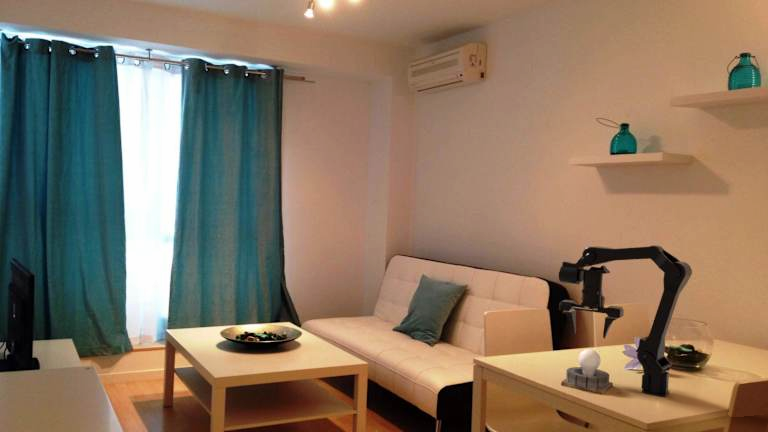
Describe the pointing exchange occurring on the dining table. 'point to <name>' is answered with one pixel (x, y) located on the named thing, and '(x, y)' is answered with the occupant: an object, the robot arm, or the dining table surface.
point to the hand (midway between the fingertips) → (589, 335)
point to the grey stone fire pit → (587, 380)
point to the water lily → (632, 355)
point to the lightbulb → (589, 361)
